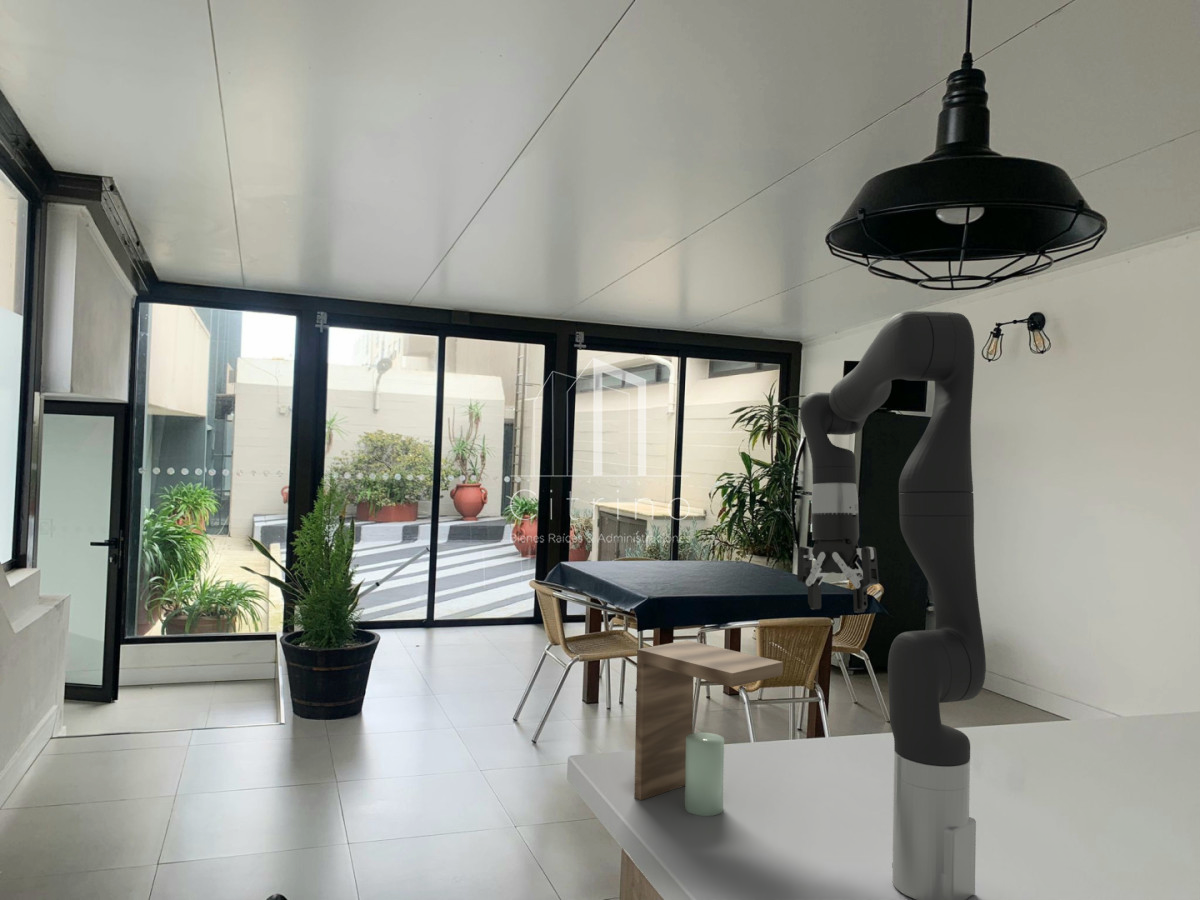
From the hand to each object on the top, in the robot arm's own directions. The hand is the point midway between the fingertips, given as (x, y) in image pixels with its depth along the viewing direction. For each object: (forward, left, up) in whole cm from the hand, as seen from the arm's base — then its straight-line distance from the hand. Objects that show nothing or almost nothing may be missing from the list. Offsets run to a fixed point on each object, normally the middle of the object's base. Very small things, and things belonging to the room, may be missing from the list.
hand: (837, 610), depth 144 cm
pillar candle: (+11, +20, -31) cm, 38 cm away
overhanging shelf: (+11, +19, -31) cm, 38 cm away
